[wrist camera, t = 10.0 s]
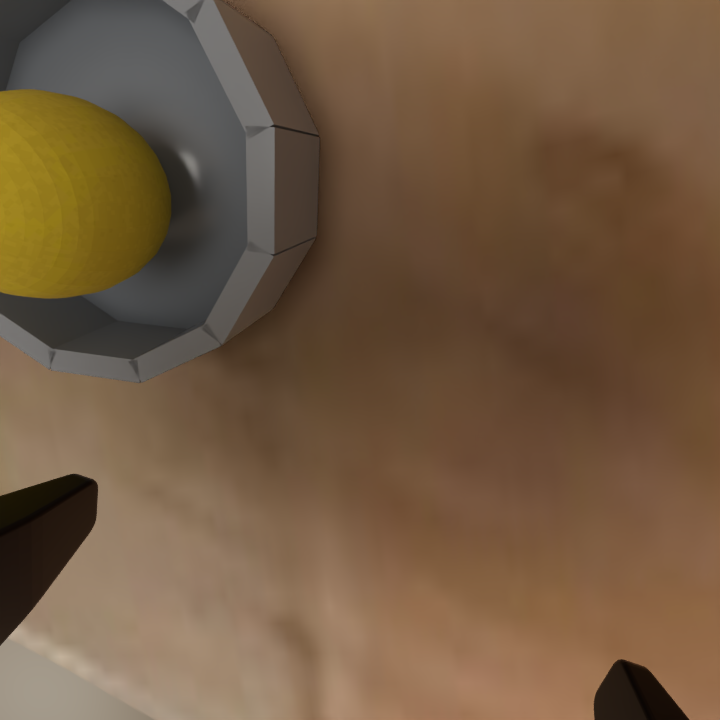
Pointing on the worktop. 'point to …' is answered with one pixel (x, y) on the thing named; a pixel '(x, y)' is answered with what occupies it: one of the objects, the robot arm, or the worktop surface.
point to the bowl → (173, 175)
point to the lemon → (74, 197)
